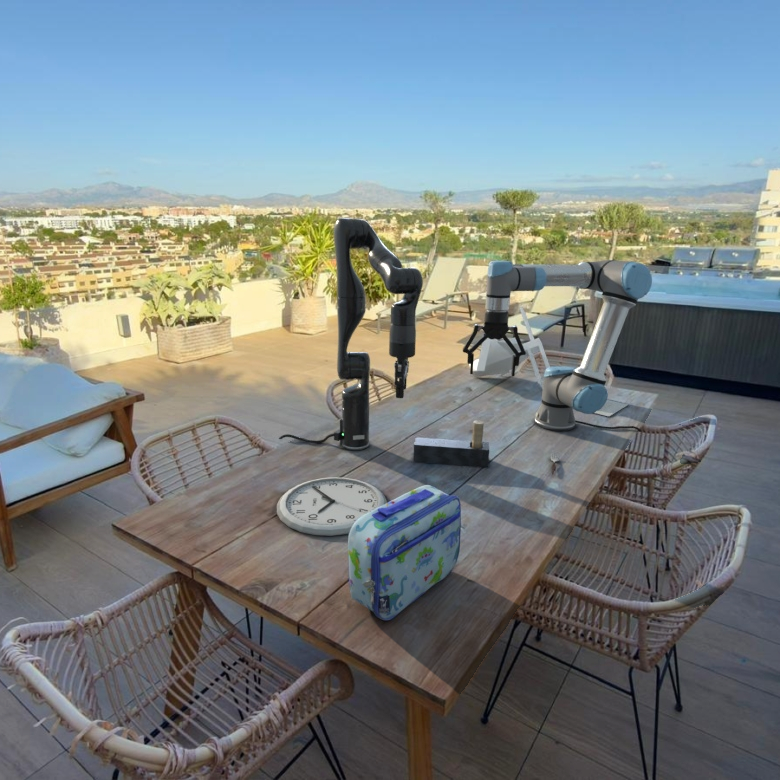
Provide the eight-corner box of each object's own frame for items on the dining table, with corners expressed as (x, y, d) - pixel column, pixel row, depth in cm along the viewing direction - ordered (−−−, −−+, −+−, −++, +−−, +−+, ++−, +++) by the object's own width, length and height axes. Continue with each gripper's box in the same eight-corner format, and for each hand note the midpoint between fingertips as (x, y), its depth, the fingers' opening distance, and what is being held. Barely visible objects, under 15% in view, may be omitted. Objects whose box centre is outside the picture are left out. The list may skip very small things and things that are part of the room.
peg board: (487, 459, 173) (488, 442, 171) (488, 467, 167) (489, 450, 165) (415, 453, 176) (415, 437, 174) (413, 461, 170) (413, 444, 168)
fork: (547, 475, 162) (548, 469, 162) (551, 455, 176) (551, 449, 176) (556, 476, 161) (557, 470, 161) (559, 456, 176) (560, 451, 175)
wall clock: (392, 527, 129) (268, 531, 127) (391, 533, 130) (269, 537, 127) (383, 473, 158) (282, 475, 155) (383, 478, 158) (282, 480, 156)
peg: (480, 464, 169) (483, 424, 165) (470, 463, 169) (473, 423, 165) (480, 460, 172) (483, 420, 168) (470, 459, 172) (473, 420, 168)
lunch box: (378, 635, 98) (379, 537, 91) (341, 606, 105) (340, 513, 99) (464, 574, 115) (470, 488, 109) (427, 553, 122) (431, 471, 116)
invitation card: (608, 416, 214) (573, 407, 224) (608, 416, 214) (573, 408, 224) (628, 404, 229) (594, 396, 238) (628, 405, 229) (594, 397, 238)
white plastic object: (489, 418, 267) (470, 395, 242) (471, 346, 289) (451, 318, 264) (561, 394, 254) (547, 368, 230) (535, 321, 277) (521, 289, 252)
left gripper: (392, 334, 156) (391, 385, 161) (386, 344, 143) (385, 400, 148) (417, 335, 156) (415, 387, 161) (413, 345, 142) (411, 401, 147)
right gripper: (535, 310, 170) (528, 373, 176) (457, 307, 172) (454, 369, 179) (538, 313, 162) (531, 379, 169) (457, 310, 165) (454, 375, 171)
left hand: (401, 393), depth 154 cm, fingers open, 8 cm apart
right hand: (491, 374), depth 174 cm, fingers open, 13 cm apart
